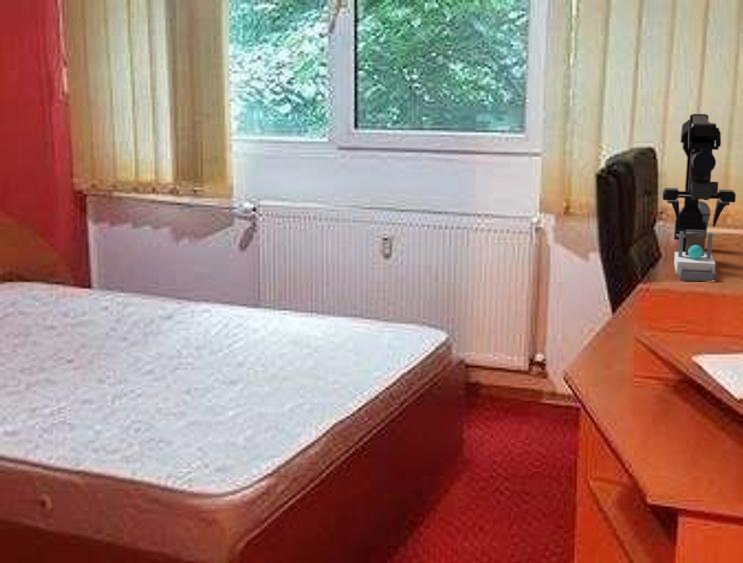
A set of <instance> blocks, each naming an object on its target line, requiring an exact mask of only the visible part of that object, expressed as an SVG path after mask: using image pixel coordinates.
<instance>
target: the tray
mask: <svg viewBox="0 0 743 563" xmlns="http://www.w3.org/2000/svg"><path fill="white" fill-rule="evenodd" d="M678 277H679V281H680V280H682V281H681V282H695V281H712V280H716V278H717V272H716V269H715V270H714V268H713V267H711V271H706V270H687V269H682V267H681V266H679V274H678ZM716 281H717V280H716Z"/></svg>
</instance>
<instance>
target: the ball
mask: <svg viewBox="0 0 743 563" xmlns="http://www.w3.org/2000/svg"><path fill="white" fill-rule="evenodd" d="M688 254H689V256H690V257H691V258H693V259H698V258H700V257H701V256H702V254H703V249H702V248H701V247H700V246H698V245H693V246H691V247H690V248H689V250H688Z"/></svg>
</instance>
